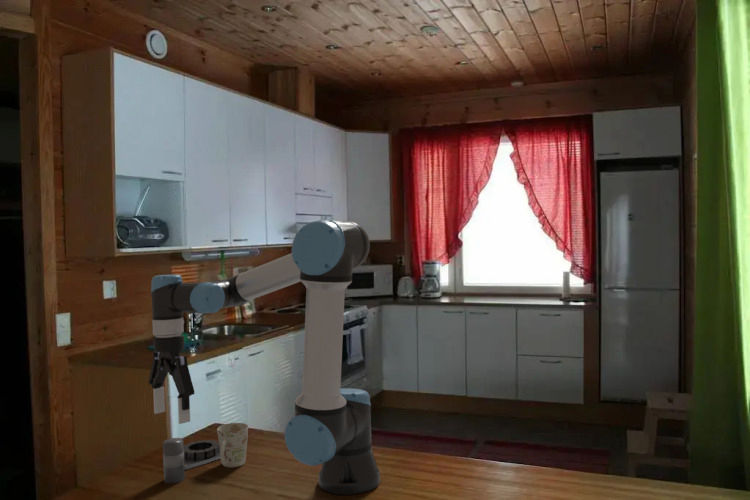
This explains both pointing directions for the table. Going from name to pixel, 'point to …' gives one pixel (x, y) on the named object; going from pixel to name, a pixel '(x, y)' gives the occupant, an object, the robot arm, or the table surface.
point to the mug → (233, 443)
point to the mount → (200, 453)
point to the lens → (173, 460)
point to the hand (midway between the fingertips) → (171, 417)
